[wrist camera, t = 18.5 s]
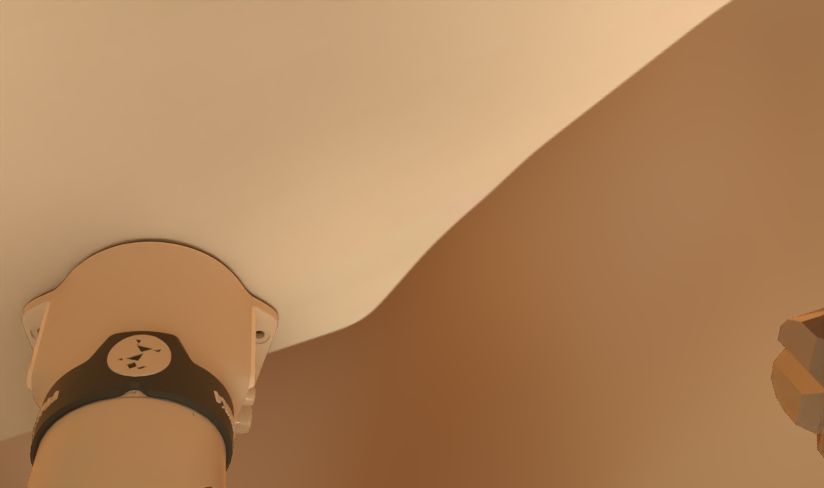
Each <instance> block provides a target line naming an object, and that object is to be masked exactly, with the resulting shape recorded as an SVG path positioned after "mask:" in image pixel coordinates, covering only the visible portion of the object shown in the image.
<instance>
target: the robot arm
mask: <svg viewBox="0 0 824 488" xmlns="http://www.w3.org/2000/svg"><path fill="white" fill-rule="evenodd" d="M22 324H23V327H24V329H25V332H26V334H27V336H28V339H29V341H30V344H31V346H32V348H33V351H34V352H33V356H32V360H31V364H30V368H29V371H28V375H27V388H28V389H30V390H32V392H33V396H34V399H35V401H36V403H37V405H38V406H39V408H40V411H39V414H38V416H37V419H36V422H35V426H34V429H33V434H32V437H33V439H32V445H31V453H30V457H31V463H32V466H33V467H32V470H31V474H30V477H29V480H28V484H27V487H26V488H226V471H227V469H228V467H229V464H230V462H231V458H232V452H233V447H234V439H235V435H236V433H241V434H246V433H248V432H249V429H250V426H251V421H252V405H253V404H254V400H255V392H256V391H255V388H254V386H255V384H256V380H257V378H258V376H259V373H260V371H261V368H262V365H263V363H264V360H265V357H266V355H267V352H268V350H269V347H270V345H271V342H272V339H273V337H274V334H275V332H276V329H277V324H278V315H277V313H276V311H275V310H274V309H272V308H271V307H270V306H268V305H267V304H265V303H263V302H262V301H260V300H258V299H256V298H254V297H252V296H251V295H250V294H249V293H248V292H247V291H246V290H245V288H244V287H243V286H242V284H241V283H240V282H239V280H238V279H237V278H236V276H235V275H234V274H233V273H232V272H231V271H230V270H229V269H228V268H226V267H225V266H224V265H223V264H221V263H220V262H219V261H217V260H215V259H214V258H212V257H210V256H208V255H207V254H204V253H202V252H200V251H197V250H195V249H192V248H189V247H186V246H182V245H177V244H172V243H165V242H135V243H128V244H123V245H119V246H115V247H112V248H109V249H106V250H103V251H101V252H99V253H97V254H95V255H93V256H91V257H89V258H88V259H86V260H85V261H83V262H82V263H81V264H79V265H78V266H77V267H76V268H75V269H74V270H73V271H72V272H71V273H70V274H69V275H68V276H67V278H66V279H65V280H64V281H63V282H62V284H61V285H60V286H59V287H57V288H56V289H55V290H53V291H51V292H49V293H47V294H44V295H42V296H40V297H38V298H36V299H34V300H32V301H31V302H29V303H28V304H27V305H26V306H25V307H24V309H23V314H22ZM256 331H262V332H261V333H256ZM778 341H779V342H780V343H781V344H782V345H783V346H784V347H785V349H784V350H783V351H782V352H781V353H780V355H779V356H778V357H777V358H776V359H775V360H774V362H773V367H772V374H771V380H772V384H773V388H774V391H775V395H776V398H777V399H778V401H779V403H780V405H781V406H782V408H783V410H784V411H785V412H786V414H787V415H788V416H789V417H790V418H791V420H792V421H793V422H794V423H795V424H796V425H798V426H800V427H802V428H804V429H806V430H809V431H811V432H813V433H815V434H817V450H818V451H819V452H820V454H821V455H822V456H823V457H824V308H822V309H819V310H816V311H812V312H809V313H806V314H802V315H799V316H796V317H792V318H789V319H787V320H786V321H785V322H784V323H783V324H782V325H781V327H780V331H779V335H778Z"/></svg>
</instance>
